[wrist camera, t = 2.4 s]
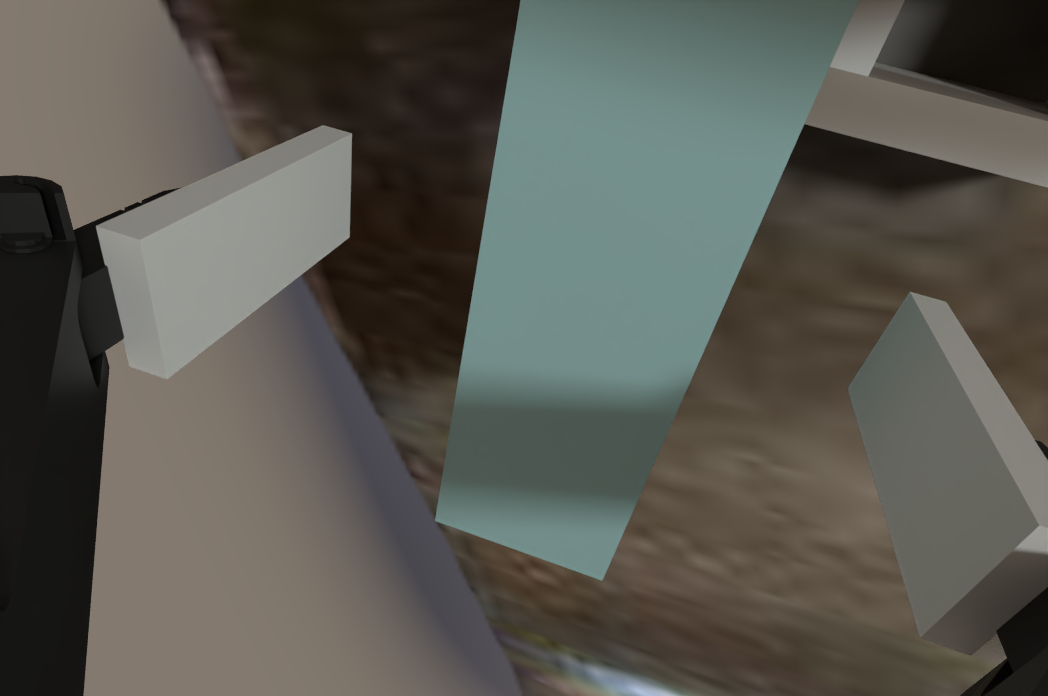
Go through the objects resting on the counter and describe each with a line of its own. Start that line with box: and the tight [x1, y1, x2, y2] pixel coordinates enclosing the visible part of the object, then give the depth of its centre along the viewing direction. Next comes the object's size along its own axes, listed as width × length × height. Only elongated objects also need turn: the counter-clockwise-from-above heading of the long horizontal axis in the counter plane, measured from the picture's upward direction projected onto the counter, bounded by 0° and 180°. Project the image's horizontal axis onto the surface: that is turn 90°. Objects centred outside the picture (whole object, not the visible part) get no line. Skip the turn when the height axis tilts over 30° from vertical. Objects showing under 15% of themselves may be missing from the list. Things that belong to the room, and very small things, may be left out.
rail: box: [435, 0, 859, 580], centre depth 18 cm, size 16×5×13 cm, turn 169°
